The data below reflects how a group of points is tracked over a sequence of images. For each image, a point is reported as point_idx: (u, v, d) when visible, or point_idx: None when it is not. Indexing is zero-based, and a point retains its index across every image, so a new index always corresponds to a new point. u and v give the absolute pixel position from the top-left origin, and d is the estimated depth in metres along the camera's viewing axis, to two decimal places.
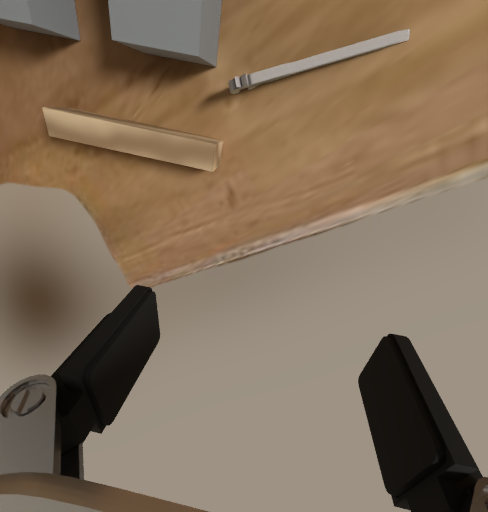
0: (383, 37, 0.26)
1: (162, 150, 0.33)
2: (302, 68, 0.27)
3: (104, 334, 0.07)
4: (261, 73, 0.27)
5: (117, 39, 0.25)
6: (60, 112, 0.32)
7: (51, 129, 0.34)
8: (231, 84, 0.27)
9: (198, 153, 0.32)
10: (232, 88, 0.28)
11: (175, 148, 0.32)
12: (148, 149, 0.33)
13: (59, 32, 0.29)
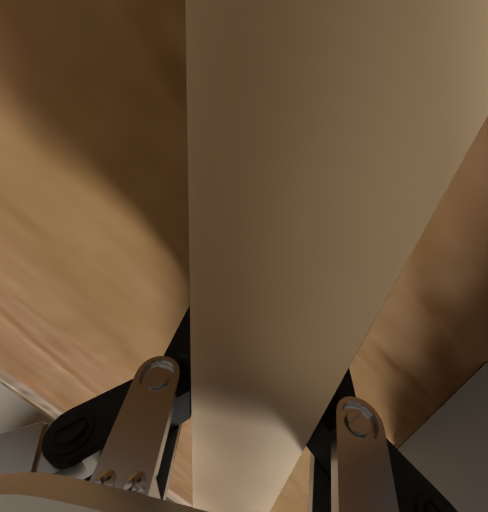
0: None
1: (222, 480, 0.10)
2: None
3: None
4: None
5: None
6: None
7: None
8: None
9: None
10: None
11: (236, 500, 0.11)
12: (219, 458, 0.09)
13: None
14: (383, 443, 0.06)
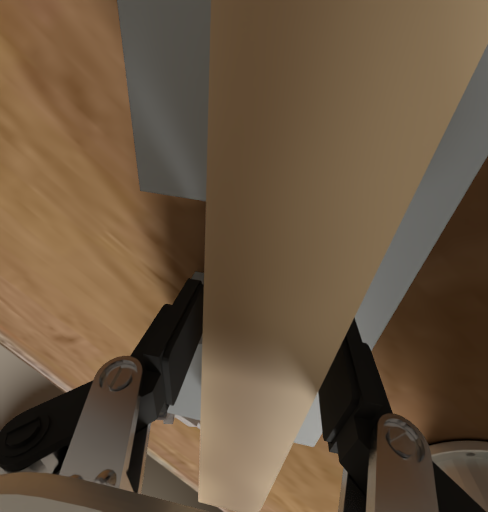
0: None
1: (228, 456, 0.10)
2: (197, 426, 0.29)
3: (173, 321, 0.08)
4: (181, 417, 0.25)
5: None
6: None
7: None
8: None
9: (232, 497, 0.13)
10: None
11: (240, 477, 0.11)
12: (225, 433, 0.09)
13: None
14: (428, 469, 0.06)
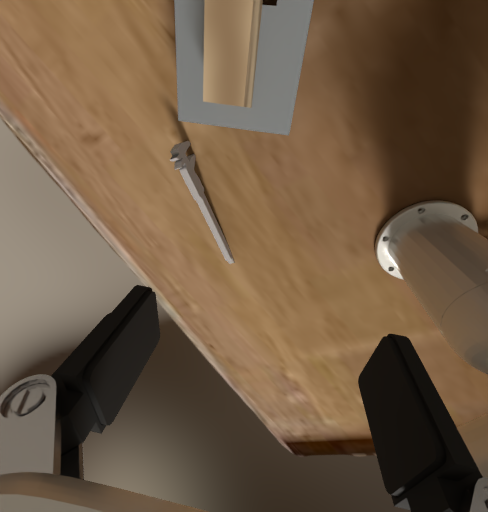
0: (226, 252, 0.40)
1: None
2: (200, 207, 0.35)
3: (104, 334, 0.07)
4: (188, 177, 0.32)
5: (175, 7, 0.21)
6: None
7: None
8: (174, 151, 0.30)
9: (226, 71, 0.19)
10: (172, 152, 0.30)
11: (230, 18, 0.17)
12: None
13: None
14: None
